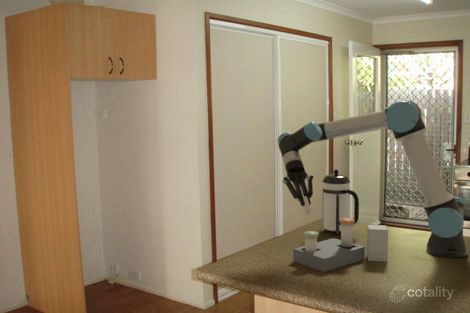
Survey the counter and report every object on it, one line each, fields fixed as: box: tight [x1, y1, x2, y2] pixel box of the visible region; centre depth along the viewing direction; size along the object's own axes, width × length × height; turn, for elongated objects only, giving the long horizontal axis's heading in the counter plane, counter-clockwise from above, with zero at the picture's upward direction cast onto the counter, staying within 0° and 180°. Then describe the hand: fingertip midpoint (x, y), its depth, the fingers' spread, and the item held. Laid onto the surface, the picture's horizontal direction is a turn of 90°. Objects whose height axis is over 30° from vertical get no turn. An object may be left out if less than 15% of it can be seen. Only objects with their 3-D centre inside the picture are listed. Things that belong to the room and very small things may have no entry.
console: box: [292, 237, 366, 273], centre depth 186 cm, size 16×23×5 cm
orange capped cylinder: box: [340, 217, 355, 247], centre depth 187 cm, size 6×6×10 cm
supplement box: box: [366, 224, 389, 263], centre depth 186 cm, size 7×7×13 cm
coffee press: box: [319, 169, 360, 236], centre depth 225 cm, size 17×16×30 cm
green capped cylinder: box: [302, 230, 319, 253], centre depth 183 cm, size 6×6×10 cm
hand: (308, 212), depth 184 cm, fingers closed
